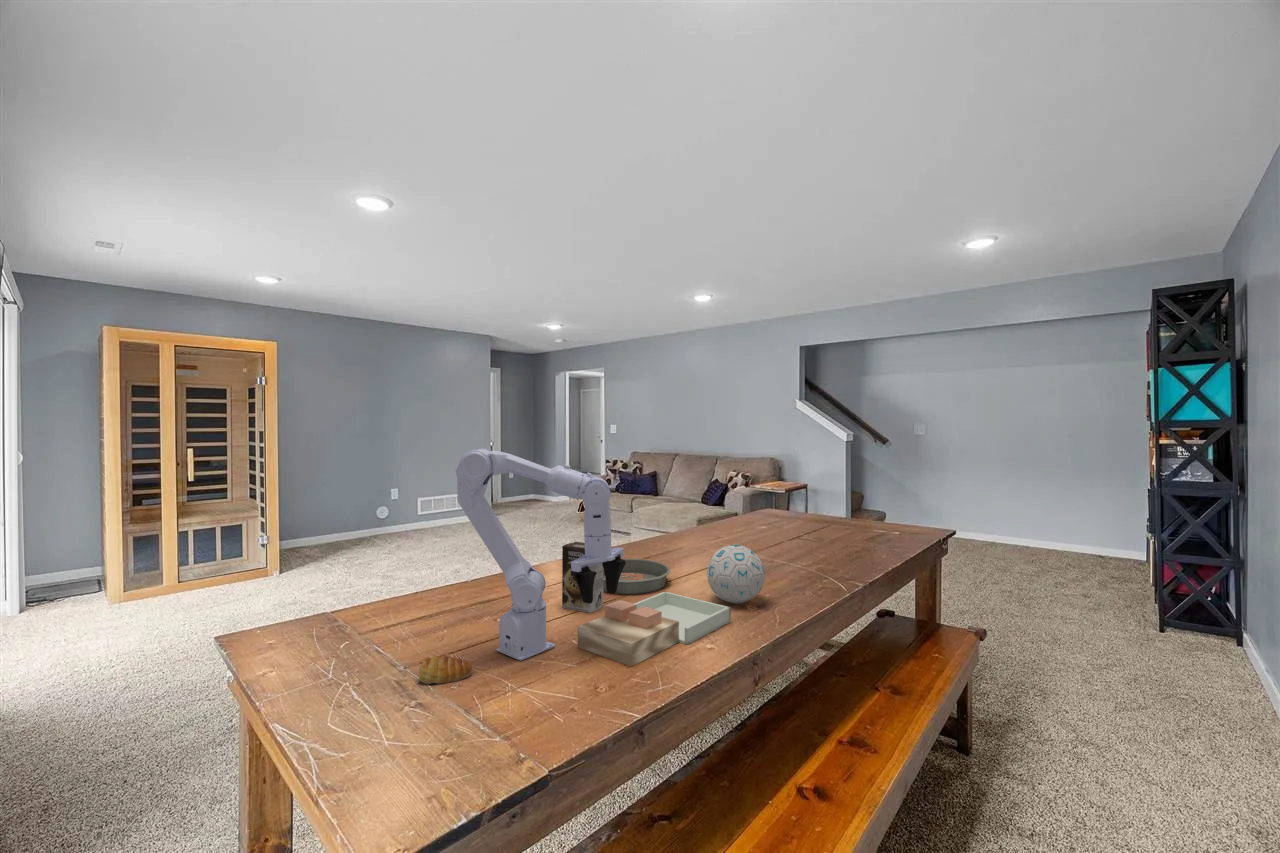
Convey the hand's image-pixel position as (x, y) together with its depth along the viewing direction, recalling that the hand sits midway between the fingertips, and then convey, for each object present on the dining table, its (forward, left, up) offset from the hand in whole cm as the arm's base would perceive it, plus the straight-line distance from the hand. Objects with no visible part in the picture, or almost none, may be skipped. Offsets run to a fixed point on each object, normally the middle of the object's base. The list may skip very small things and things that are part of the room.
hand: (599, 597), depth 123 cm
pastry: (-29, +13, -11) cm, 34 cm away
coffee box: (+16, +21, -11) cm, 28 cm away
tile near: (+7, -7, -6) cm, 11 cm away
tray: (+22, -4, -10) cm, 24 cm away
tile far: (+7, 0, -6) cm, 9 cm away
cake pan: (+40, +26, -11) cm, 48 cm away
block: (+5, -4, -10) cm, 12 cm away
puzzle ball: (+45, -7, -11) cm, 46 cm away
